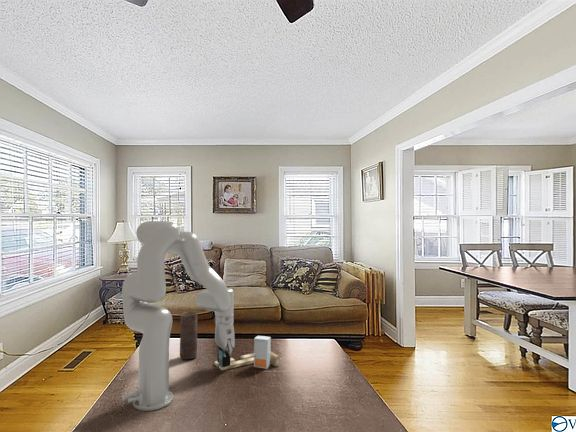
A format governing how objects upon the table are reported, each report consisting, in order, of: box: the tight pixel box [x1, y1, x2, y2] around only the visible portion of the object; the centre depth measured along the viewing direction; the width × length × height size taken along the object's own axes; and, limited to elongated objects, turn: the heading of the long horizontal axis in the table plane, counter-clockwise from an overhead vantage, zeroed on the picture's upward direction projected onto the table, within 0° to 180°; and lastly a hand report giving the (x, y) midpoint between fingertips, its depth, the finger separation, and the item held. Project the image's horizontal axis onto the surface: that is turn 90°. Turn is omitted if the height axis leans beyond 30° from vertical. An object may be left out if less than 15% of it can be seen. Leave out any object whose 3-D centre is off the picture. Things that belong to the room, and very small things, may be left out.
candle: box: [179, 310, 198, 360], centre depth 161 cm, size 8×7×20 cm
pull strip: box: [218, 349, 280, 371], centre depth 152 cm, size 22×11×7 cm, turn 123°
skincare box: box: [253, 335, 272, 370], centre depth 153 cm, size 6×4×12 cm
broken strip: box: [214, 352, 254, 368], centre depth 159 cm, size 22×3×1 cm, turn 123°
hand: (223, 363), depth 150 cm, fingers open, 4 cm apart
